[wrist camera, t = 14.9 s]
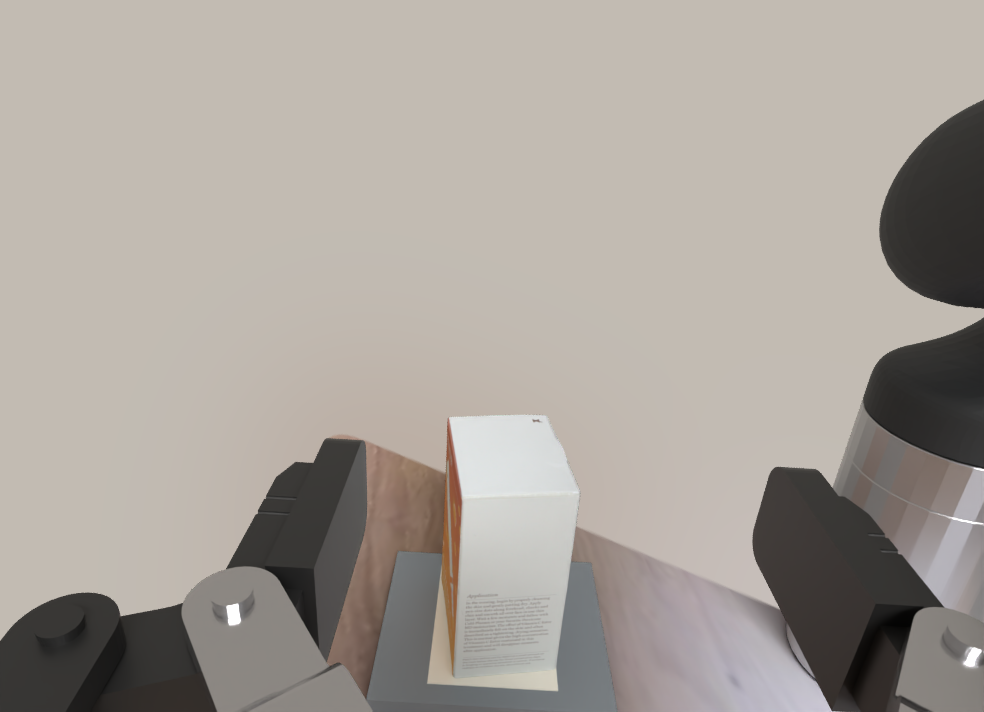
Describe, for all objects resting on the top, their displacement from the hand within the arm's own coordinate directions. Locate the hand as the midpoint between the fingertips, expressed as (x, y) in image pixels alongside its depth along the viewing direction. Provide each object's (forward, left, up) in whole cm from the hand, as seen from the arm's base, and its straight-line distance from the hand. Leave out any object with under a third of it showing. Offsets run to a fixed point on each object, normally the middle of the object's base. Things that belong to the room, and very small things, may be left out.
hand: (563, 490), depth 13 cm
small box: (0, -20, -25) cm, 32 cm away
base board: (0, -20, -26) cm, 33 cm away
